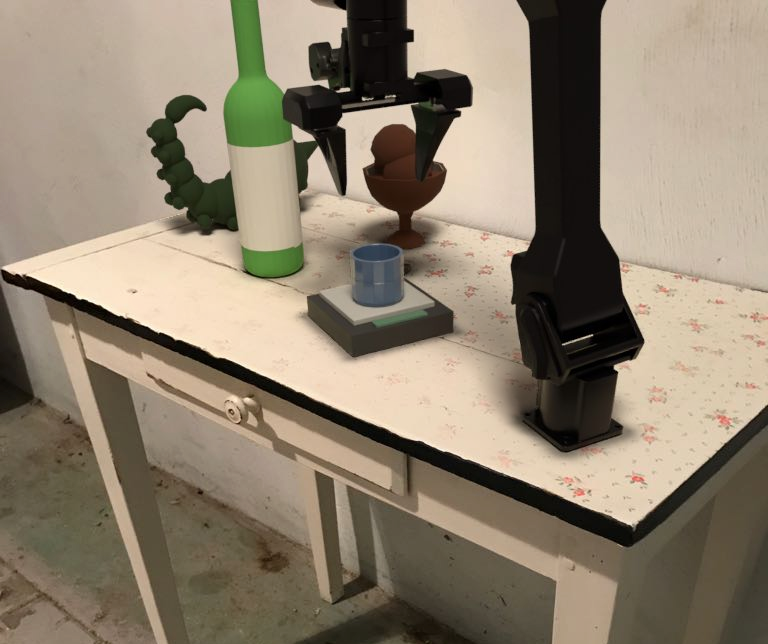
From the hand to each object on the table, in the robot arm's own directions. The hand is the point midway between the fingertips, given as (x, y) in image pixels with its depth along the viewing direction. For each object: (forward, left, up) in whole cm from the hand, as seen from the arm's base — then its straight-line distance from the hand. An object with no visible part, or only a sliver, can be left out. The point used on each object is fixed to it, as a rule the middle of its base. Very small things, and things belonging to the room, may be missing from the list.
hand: (381, 187), depth 87 cm
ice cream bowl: (+18, -12, -13) cm, 26 cm away
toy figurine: (+39, +3, -13) cm, 41 cm away
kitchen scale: (-4, +3, -13) cm, 14 cm away
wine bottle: (+18, +7, -13) cm, 23 cm away
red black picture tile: (+10, -6, -13) cm, 18 cm away
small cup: (-4, +3, -10) cm, 11 cm away
